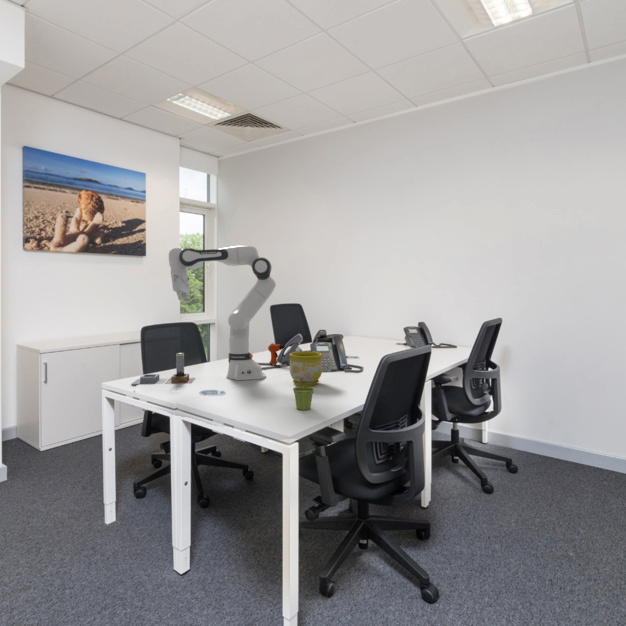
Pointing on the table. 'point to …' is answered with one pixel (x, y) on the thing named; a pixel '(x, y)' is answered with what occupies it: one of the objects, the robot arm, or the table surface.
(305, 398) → the plant pot
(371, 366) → the table surface
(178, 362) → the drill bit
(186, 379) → the socket block
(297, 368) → the flowerpot
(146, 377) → the rack block
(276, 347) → the toy drill
